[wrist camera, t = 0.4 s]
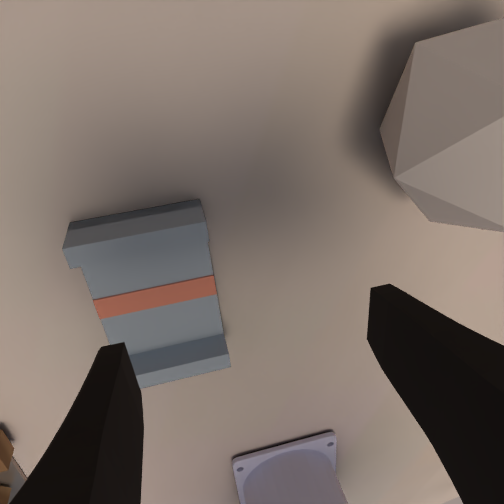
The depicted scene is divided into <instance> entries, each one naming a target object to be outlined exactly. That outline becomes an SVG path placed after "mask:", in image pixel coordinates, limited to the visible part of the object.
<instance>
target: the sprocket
mask: <svg viewBox="0 0 504 504" xmlns="http://www.w3.org/2000/svg"><path fill="white" fill-rule="evenodd" d="M13 451H14V447H13V446H12V444H11V443H10V441H9V440H8V438H7V437H6V435H5V434H4V432H3V431H2V430H0V472H4V471H8V470H9V466H10V462H11V458H12V455H13ZM11 489H12V488H9V487H4V486H0V504H8V501H9V497H10V493H11Z"/></svg>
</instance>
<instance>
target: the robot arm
mask: <svg viewBox="0 0 504 504" xmlns="http://www.w3.org/2000/svg"><path fill="white" fill-rule="evenodd" d="M367 340H368V342H369V344H370V346H371V348H372V351H373V353H374V355H375V357H376V359H377V361H378V362H379V364H380V366H381V368H382V370H383V371H384V373H385V374H386V376H387V378H388V379H389V381H390V382H391V384H392V385H393V387H394V388H395V390H396V391H397V393H398V394H399V395H400V397H401V398H402V400H403V401H404V403H405V404H406V406H407V407H408V409H409V410H410V412H411V413H412V415H413V416H414V418H415V419H416V421H417V422H418V424H419V425H420V426H421V428H422V429H423V431H424V432H425V434H426V436H427V437H428V439H429V441H430V442H431V444H432V445H433V447H434V449H435V451H436V453H437V454H438V456H439V458H440V460H441V462H442V464H443V465H444V467H445V469H446V471H447V473H448V475H449V477H450V478H451V480H452V482H453V484H454V486H455V488H456V490H457V492H458V494H459V496H460V498H461V500H462V502H463V504H504V346H503V345H501V344H499V343H497V342H495V341H493V340H491V339H489V338H487V337H485V336H483V335H481V334H479V333H477V332H475V331H473V330H471V329H469V328H467V327H465V326H463V325H461V324H459V323H458V322H456V321H454V320H452V319H450V318H449V317H447V316H445V315H443V314H441V313H440V312H438V311H436V310H434V309H433V308H431V307H429V306H428V305H426V304H424V303H423V302H421V301H419V300H417V299H416V298H414V297H412V296H411V295H409V294H407V293H406V292H404V291H402V290H400V289H399V288H397V287H395V286H393V285H391V284H386V285H382V286H377V287H373V288H371V291H370V305H369V318H368V332H367ZM143 437H144V423H143V408H142V395H141V390H140V387H139V384H138V381H137V378H136V375H135V372H134V369H133V366H132V363H131V360H130V357H129V354H128V351H127V348H126V345H125V342H121V343H117V344H112V345H108V346H103V347H101V348H100V350H99V351H98V353H97V355H96V358H95V360H94V362H93V364H92V367H91V369H90V371H89V373H88V375H87V377H86V379H85V381H84V383H83V386H82V388H81V390H80V392H79V393H78V395H77V397H76V399H75V401H74V403H73V405H72V407H71V409H70V411H69V412H68V414H67V416H66V418H65V420H64V421H63V423H62V425H61V427H60V428H59V430H58V432H57V433H56V435H55V437H54V438H53V440H52V442H51V443H50V445H49V447H48V448H47V450H46V452H45V453H44V455H43V456H42V458H41V459H40V461H39V462H38V464H37V465H36V467H35V468H34V470H33V471H32V473H31V474H30V476H29V477H28V478H27V480H26V481H25V483H24V484H23V486H22V487H21V488H20V490H19V491H18V492H17V494H16V495H15V496H14V498H13V499H12V500H11V502H10V503H9V504H140V503H141V482H142V460H143ZM336 440H337V438H336V435H335V433H334V432H327V433H324V434H320V435H316V436H313V437H309V438H305V439H301V440H298V441H294V442H290V443H287V444H283V445H279V446H276V447H272V448H268V449H265V450H261V451H257V452H254V453H250V454H246V455H243V456H239V457H236V458H234V459H233V461H232V466H233V471H234V476H235V481H236V486H237V490H238V495H239V500H240V504H348V502H347V500H346V498H345V495H344V493H343V490H342V488H341V486H340V483H339V481H338V478H337V476H336Z"/></svg>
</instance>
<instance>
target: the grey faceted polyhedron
mask: <svg viewBox="0 0 504 504" xmlns="http://www.w3.org/2000/svg"><path fill="white" fill-rule="evenodd" d="M379 130H380V133H381V137H382V140H383V144H384V147H385V151H386V154H387V158H388V161H389V164H390V168H391V171H392V175H393V178H394V179H395V181H396V182H397V183H398V184H399V185H400V187H401V188H402V189H403V190H404V191H405V193H406V194H407V195H408V196H409V197H410V198H411V200H412V201H413V202H414V203H415V204H416V206H417V207H418V208H419V209H420V210H421V212H422V213H423V214H424V215H425V216H426V218H427V219H428V220H429V221H431V222H438V223H445V224H451V225H458V226H465V227H472V228H479V229H486V230H492V231H499V232H504V18H500V19H497V20H493V21H490V22H486V23H482V24H479V25H475V26H472V27H468V28H465V29H461V30H458V31H454V32H451V33H447V34H443V35H440V36H436V37H433V38H429V39H426V40H422V41H419V42H415V45H414V47H413V50H412V52H411V54H410V57H409V59H408V62H407V64H406V66H405V69H404V71H403V74H402V76H401V78H400V81H399V83H398V86H397V88H396V90H395V93H394V95H393V98H392V100H391V102H390V105H389V107H388V110H387V112H386V114H385V117H384V119H383V122H382V124H381V126H380V129H379Z"/></svg>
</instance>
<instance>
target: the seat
mask: <svg viewBox="0 0 504 504" xmlns="http://www.w3.org/2000/svg"><path fill="white" fill-rule="evenodd" d="M208 242H209V235H208V230H207V224H206V219H205V216H204V213H203V210H202V206H201V203H200V200H199V199H197V200H191V201H186V202H180V203H175V204H169V205H164V206H158V207H153V208H147V209H142V210H136V211H131V212H125V213H120V214H115V215H109V216H104V217H98V218H93V219H87V220H82V221H76V222H71V223H70V224H69V227H68V231H67V234H66V238H65V241H64V245H63V248H62V249H63V252H64V255H65V257H66V260H67V262H68V265H69V267H70V269H72V268H77V267H81V268H82V271H83V274H84V276H85V279H86V282H87V284H88V287H89V290H90V292H91V295H92V298H93V302H94V305H95V307H96V310H97V313H98V315H99V318H100V319H101V322H102V325H103V327H104V330H105V333H106V335H107V338H108V341H109V343H110V345H112V344H117V343H121V342H125V345H126V348H127V351H128V354H129V357H130V360H131V363H132V366H133V369H134V372H135V375H136V378H137V381H138V384H139V387H140V389H142V388H146V387H150V386H154V385H158V384H162V383H166V382H171V381H175V380H179V379H183V378H187V377H191V376H195V375H200V374H204V373H208V372H212V371H216V370H220V369H224V368H229V367H231V364H230V358H229V353H228V349H227V345H226V341H225V337H224V333H223V327H222V321H221V315H220V310H219V304H218V298H217V292H216V286H215V280H214V275H213V270H212V264H211V258H210V252H209V247H208Z"/></svg>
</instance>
